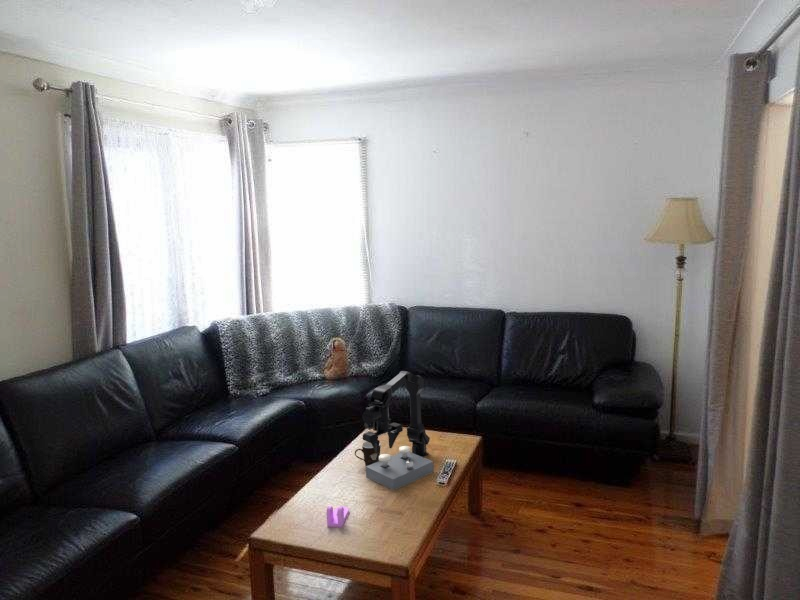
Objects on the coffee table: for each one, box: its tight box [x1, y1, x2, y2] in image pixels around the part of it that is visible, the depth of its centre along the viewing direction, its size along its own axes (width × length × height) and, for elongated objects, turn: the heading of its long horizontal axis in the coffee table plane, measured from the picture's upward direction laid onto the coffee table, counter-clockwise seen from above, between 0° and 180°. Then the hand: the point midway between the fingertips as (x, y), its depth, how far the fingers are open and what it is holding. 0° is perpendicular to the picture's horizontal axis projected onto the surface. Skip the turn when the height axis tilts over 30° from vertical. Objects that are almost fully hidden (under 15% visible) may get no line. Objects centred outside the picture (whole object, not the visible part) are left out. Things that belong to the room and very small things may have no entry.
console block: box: [365, 451, 434, 492], centre depth 259 cm, size 24×18×5 cm
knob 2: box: [398, 445, 411, 458], centre depth 264 cm, size 5×5×4 cm
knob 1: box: [379, 453, 392, 467], centre depth 256 cm, size 5×5×4 cm
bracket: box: [326, 505, 350, 528], centre depth 224 cm, size 13×6×7 cm, turn 170°
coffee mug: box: [354, 441, 382, 467], centre depth 270 cm, size 12×9×10 cm
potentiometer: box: [406, 458, 413, 470], centre depth 253 cm, size 3×3×5 cm
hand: (383, 450), depth 256 cm, fingers open, 8 cm apart
